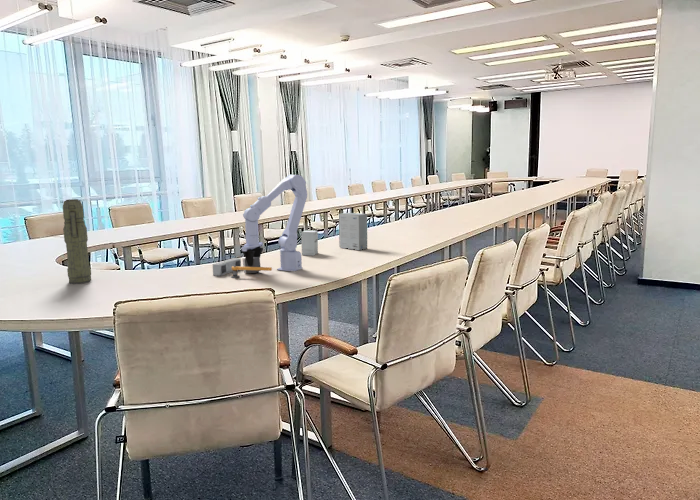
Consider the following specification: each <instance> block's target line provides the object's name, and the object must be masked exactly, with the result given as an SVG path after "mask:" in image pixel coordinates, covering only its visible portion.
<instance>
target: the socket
mask: <svg viewBox="0 0 700 500" xmlns="http://www.w3.org/2000/svg"><path fill="white" fill-rule="evenodd" d="M241 259H242V258H239V257H232V258H229V259H225V260H222V261H220V262H219V261H218V262H216V263H212V276H217V277H221V276H224V275H228V274H230V273H233V270H232V266H238V267H242V263H241V262H242V260H241Z"/></svg>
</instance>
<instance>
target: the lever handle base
mask: <svg viewBox="0 0 700 500" xmlns="http://www.w3.org/2000/svg"><path fill="white" fill-rule="evenodd" d="M230 278H232V279H238V278H240V275H239V274H238V270H233V272H232V275H231V276H230Z"/></svg>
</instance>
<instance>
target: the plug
mask: <svg viewBox="0 0 700 500" xmlns="http://www.w3.org/2000/svg"><path fill="white" fill-rule="evenodd" d="M242 264H243V265H242V267H261V256H260V257H253V266H248V264H247V261H246V258H245V257H244V258H242ZM261 271H262V270H243V274H247V273H248V274H255V273H259V272H261Z"/></svg>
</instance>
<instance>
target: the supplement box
mask: <svg viewBox="0 0 700 500" xmlns="http://www.w3.org/2000/svg"><path fill="white" fill-rule="evenodd" d="M300 234H301V235H300V237H301V239H300V240H301V256H316V255H318V254H319V244H318V243H319V242H318V241H319V237H318V234H319V233H318V230H303V231H301V233H300Z"/></svg>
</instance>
